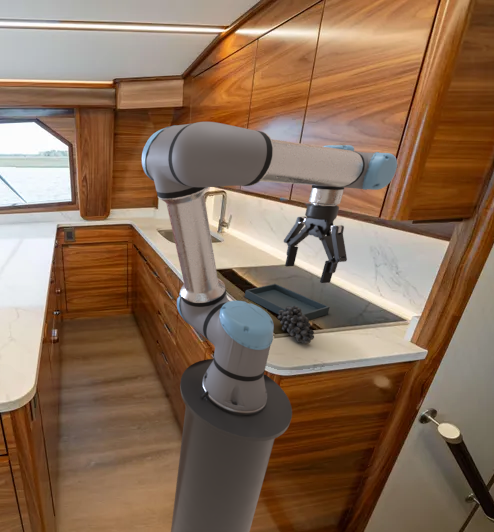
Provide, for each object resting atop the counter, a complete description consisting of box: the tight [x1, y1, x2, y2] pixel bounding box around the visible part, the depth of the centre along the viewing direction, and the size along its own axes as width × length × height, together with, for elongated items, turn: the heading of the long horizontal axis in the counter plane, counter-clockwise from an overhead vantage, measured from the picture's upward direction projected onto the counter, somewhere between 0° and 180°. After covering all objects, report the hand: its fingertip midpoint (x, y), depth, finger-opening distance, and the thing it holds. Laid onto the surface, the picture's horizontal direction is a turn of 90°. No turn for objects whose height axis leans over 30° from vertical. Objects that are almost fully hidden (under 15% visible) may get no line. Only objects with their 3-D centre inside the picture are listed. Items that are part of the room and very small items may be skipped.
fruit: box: [277, 306, 315, 345], centre depth 96 cm, size 9×8×15 cm
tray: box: [244, 283, 331, 321], centre depth 117 cm, size 17×23×3 cm
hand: (305, 273), depth 91 cm, fingers open, 13 cm apart
